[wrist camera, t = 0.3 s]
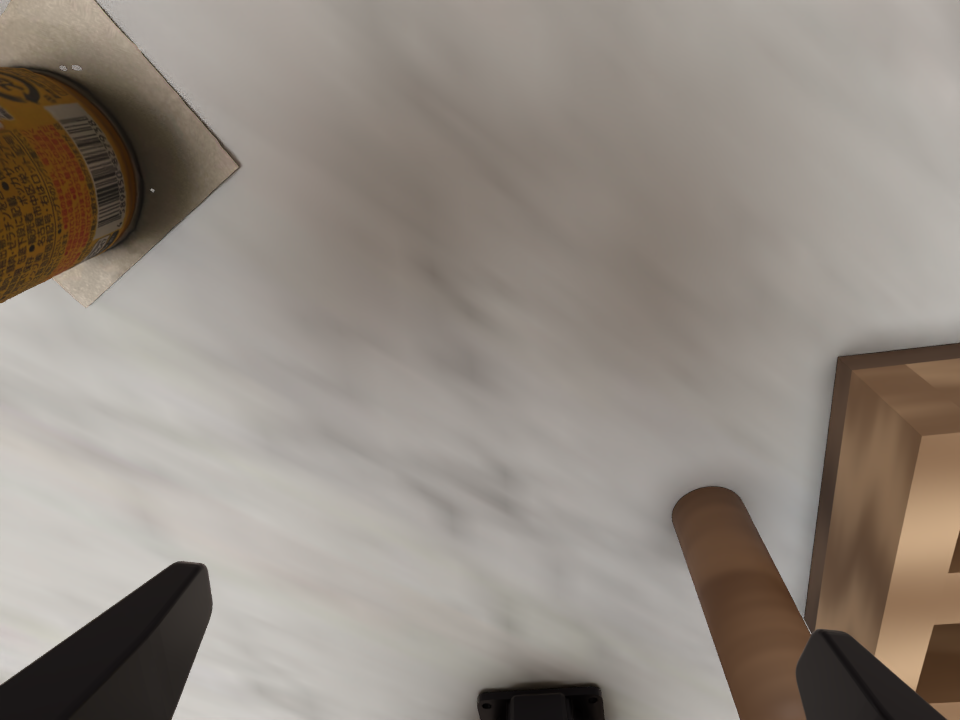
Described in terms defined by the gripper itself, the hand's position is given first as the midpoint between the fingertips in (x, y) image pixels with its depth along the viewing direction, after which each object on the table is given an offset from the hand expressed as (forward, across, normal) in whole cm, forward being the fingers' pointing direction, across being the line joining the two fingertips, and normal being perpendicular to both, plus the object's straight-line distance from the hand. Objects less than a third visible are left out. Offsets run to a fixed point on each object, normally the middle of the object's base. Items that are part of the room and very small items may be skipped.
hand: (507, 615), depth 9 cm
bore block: (+14, -18, +7) cm, 24 cm away
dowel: (+14, -10, +9) cm, 19 cm away
